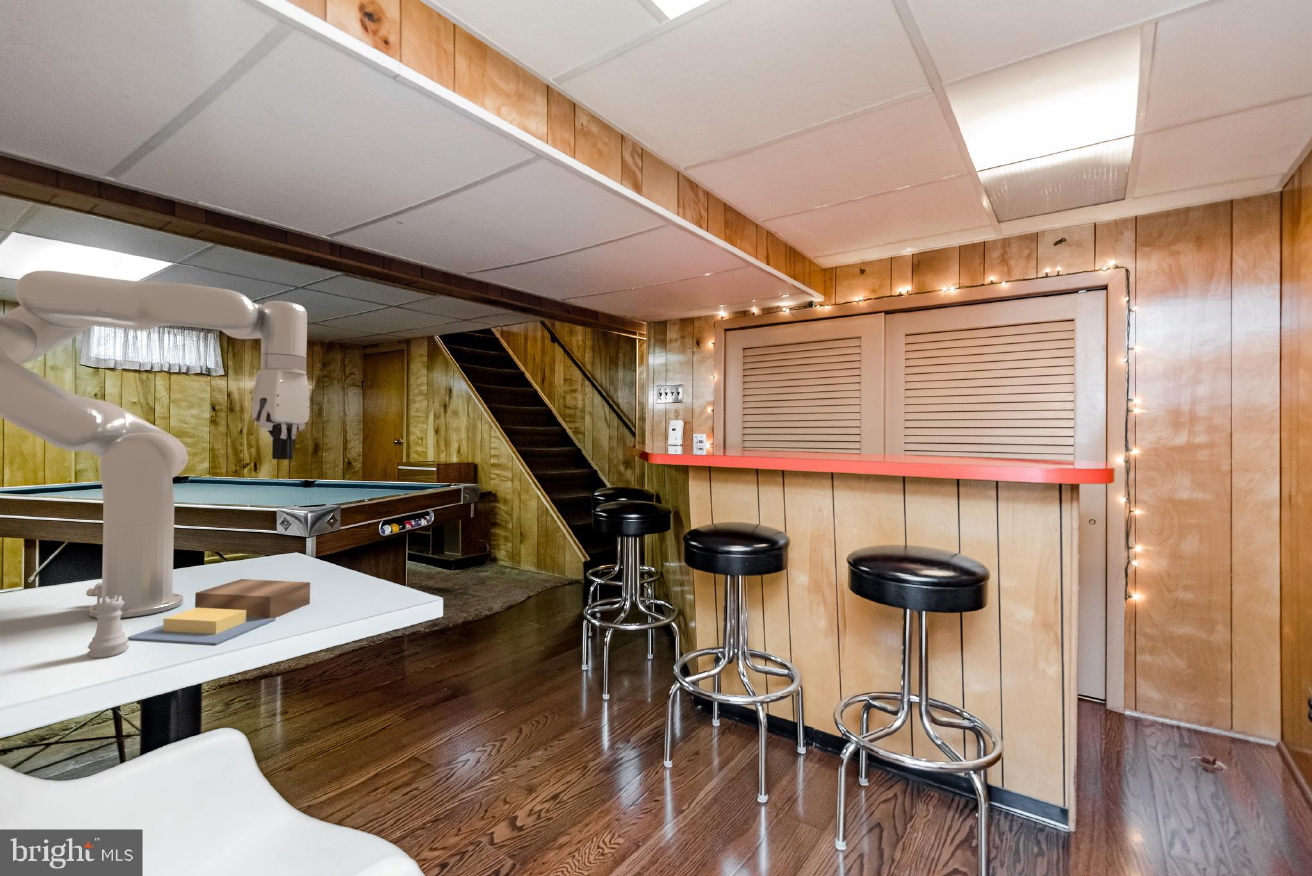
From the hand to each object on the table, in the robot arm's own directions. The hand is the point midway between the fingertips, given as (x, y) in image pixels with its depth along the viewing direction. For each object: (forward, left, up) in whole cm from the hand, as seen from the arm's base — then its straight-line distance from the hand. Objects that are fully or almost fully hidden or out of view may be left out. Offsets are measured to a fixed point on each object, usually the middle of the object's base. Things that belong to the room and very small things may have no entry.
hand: (282, 458), depth 114 cm
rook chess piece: (-2, -31, -27) cm, 41 cm away
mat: (+2, -19, -27) cm, 33 cm away
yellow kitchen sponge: (+2, -19, -25) cm, 31 cm away
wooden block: (+2, -8, -27) cm, 28 cm away
